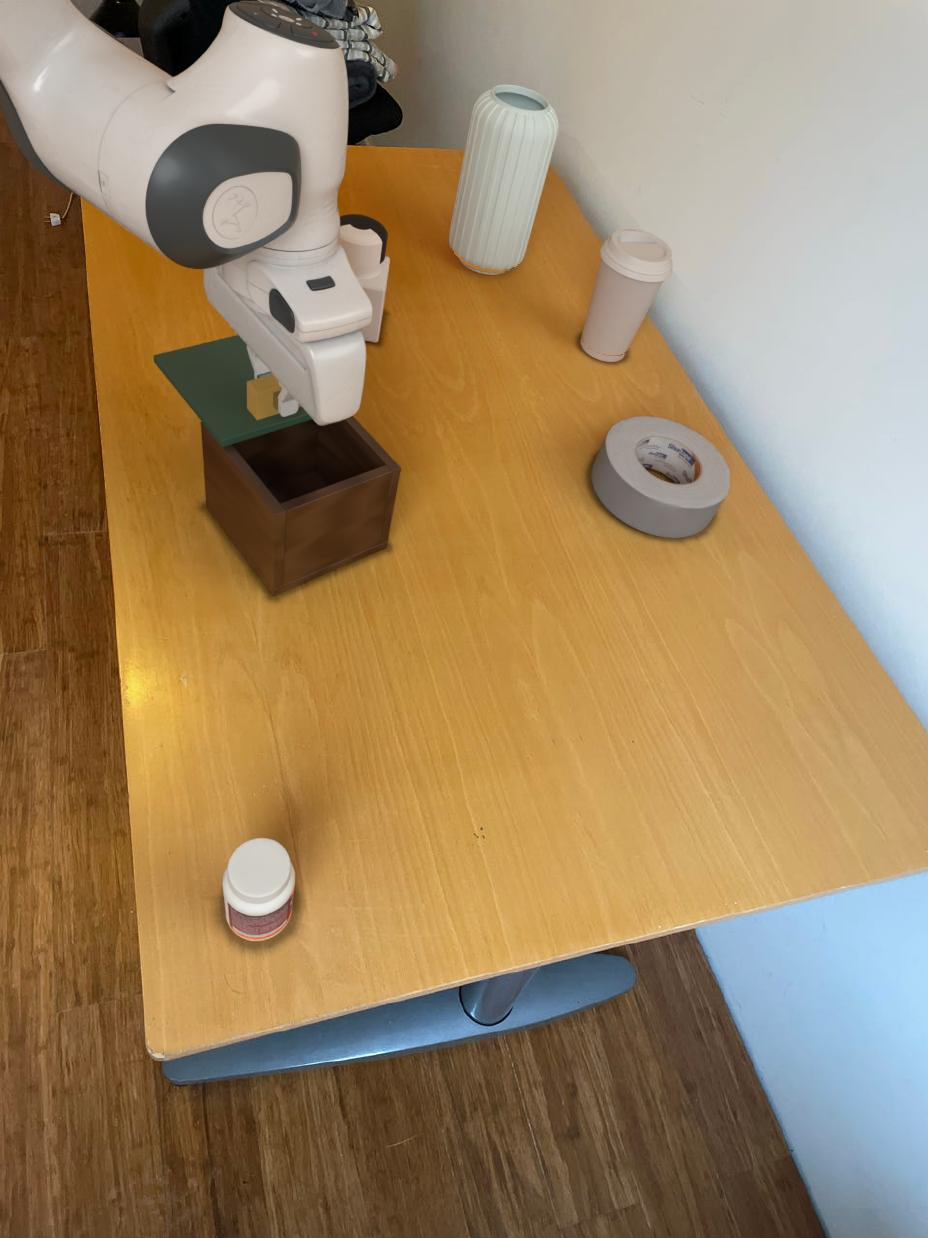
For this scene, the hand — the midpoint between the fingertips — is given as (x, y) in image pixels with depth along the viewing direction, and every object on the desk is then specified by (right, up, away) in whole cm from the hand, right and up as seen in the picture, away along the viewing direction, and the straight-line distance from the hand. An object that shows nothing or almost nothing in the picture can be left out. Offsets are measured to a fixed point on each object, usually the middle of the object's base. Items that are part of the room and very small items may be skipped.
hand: (276, 400), depth 74 cm
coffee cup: (+36, +18, +40) cm, 57 cm away
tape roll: (+39, -5, +23) cm, 46 cm away
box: (0, -11, +8) cm, 13 cm away
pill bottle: (+2, -41, -15) cm, 44 cm away
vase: (+20, +34, +48) cm, 62 cm away
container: (+2, +19, +32) cm, 37 cm away
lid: (-3, +2, +3) cm, 5 cm away
